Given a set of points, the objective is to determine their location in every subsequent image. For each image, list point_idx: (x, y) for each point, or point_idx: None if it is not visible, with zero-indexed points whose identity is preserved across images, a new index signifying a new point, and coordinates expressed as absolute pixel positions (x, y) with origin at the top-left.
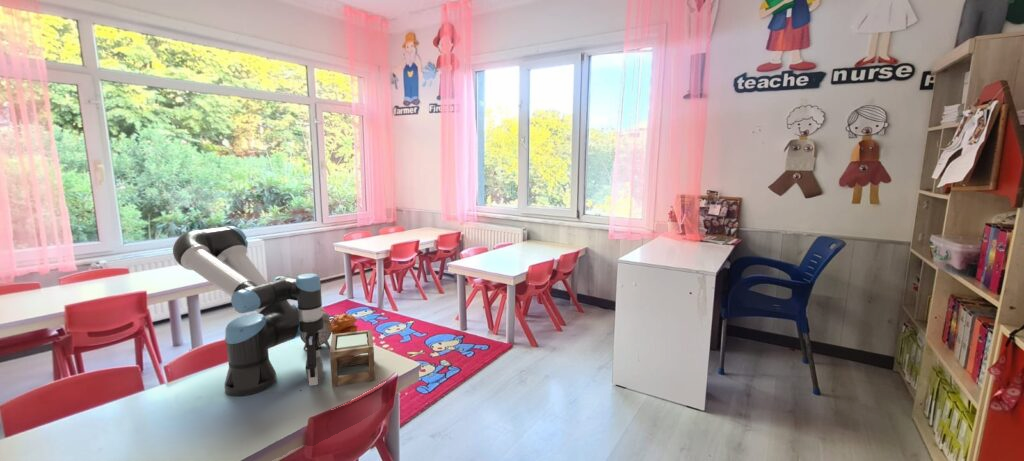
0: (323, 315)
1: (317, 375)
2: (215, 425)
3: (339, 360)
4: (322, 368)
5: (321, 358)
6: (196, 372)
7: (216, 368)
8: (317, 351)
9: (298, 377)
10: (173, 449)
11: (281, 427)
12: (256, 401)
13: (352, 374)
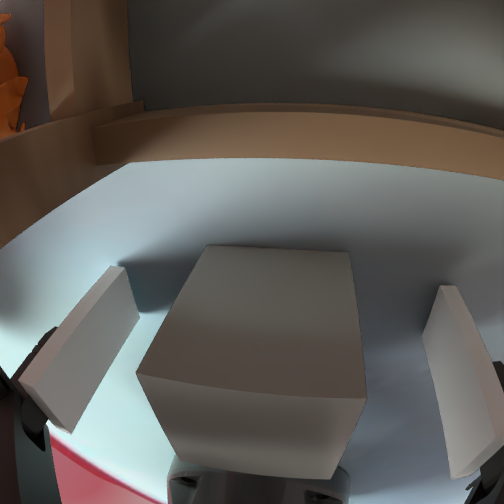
0: None
1: (470, 342)
2: (469, 482)
3: (86, 102)
4: (245, 284)
5: (200, 388)
6: (154, 499)
7: (135, 485)
8: (45, 397)
9: None
10: None
11: None
12: (415, 465)
13: None
